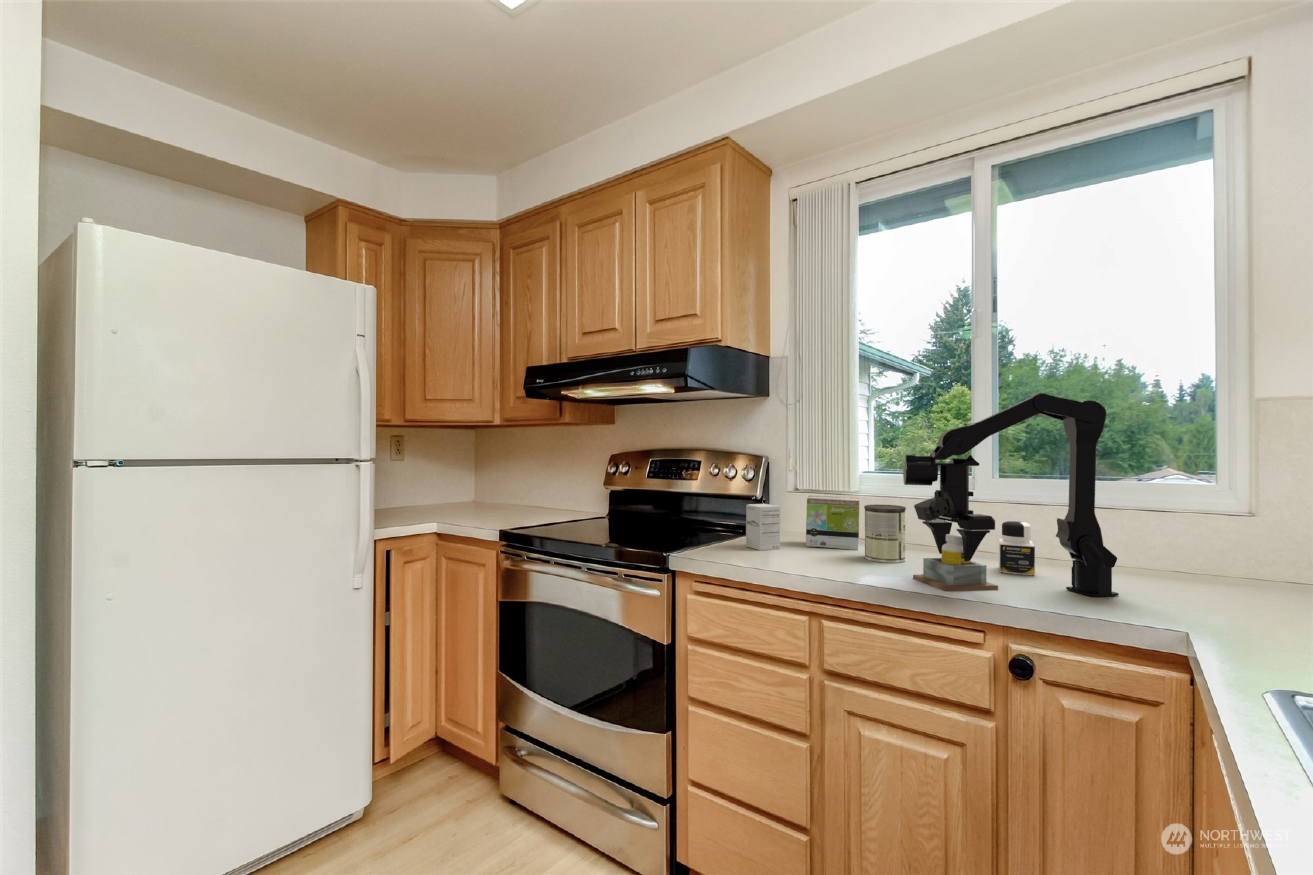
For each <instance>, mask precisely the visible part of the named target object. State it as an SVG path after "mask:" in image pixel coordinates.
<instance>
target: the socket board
mask: <svg viewBox="0 0 1313 875" xmlns="http://www.w3.org/2000/svg"><path fill="white" fill-rule="evenodd" d="M941 558H942V557H930V558H929V557H926V558H924V557H923V559H922V560H923V562H922V563H923V565H922V566H923V568H922V570H923V573H922V574H913V575H912V579H914V580H916V581H919V582H922V583H925V584H926V585H930V586H932V587H935V588H937V589H940V590H942V591H945V592H958V591H963V592H964V591H992V590H993V591H995V590H997V591H998V590H999V585H997V584H995V583H990V582H988V581H987V565H986V564H983V563H979V562H976V561H973V560H970V561H969V565H948V564H945V563H942V562H941Z"/></svg>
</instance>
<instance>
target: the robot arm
mask: <svg viewBox="0 0 1313 875" xmlns="http://www.w3.org/2000/svg"><path fill="white" fill-rule="evenodd" d="M1039 414H1041V415H1043V416H1046V417H1049V418H1052V419H1054V420H1058V421H1062V422H1063V423H1062V424H1063V428H1064V432H1065V435H1066V437H1067V440H1068V442H1069V472H1068V473H1069V475H1068V476H1069V477H1068V485H1069V486H1068V509H1067V512H1066V514H1065V516H1064V518H1060V517H1059V518H1056V525H1057V532H1056V534H1055V537H1056V538H1058V539H1059V544H1060V545H1061V546H1062V548H1063V549H1065V550H1066V551H1067V552H1068V554H1069V556H1070V558H1071V559H1072V566H1071V586H1066V587H1065V589H1066V590H1067V591H1071V592H1075V593H1078V594H1082V595H1086V596H1089V597H1116V596H1117V597H1118V596H1119V592H1115V591H1113V584H1112V582H1113V581H1112V580H1113V573H1112V572H1113V568H1114V567H1115V565H1116V563H1117V561H1118V557H1117V556H1116V555H1115V554H1114V553H1113V552H1112V551H1110V550H1109V549H1108V548H1107V547H1106V546H1104V540H1103V534H1102V530H1101V529H1102V528H1101V526H1100V524H1099V521H1098V518H1097V516H1096V511H1095V510H1096V477H1097V476H1096V474H1097V473H1096V472H1097V446H1098V442H1099V440H1100V438H1101V436H1102V435H1103V432H1104V428H1105V423H1106V419H1107V409H1106V407H1105V406H1104V405H1102V404H1101V403H1100V402H1098V401H1095V400H1083V401H1078V400H1074V399H1070V398H1064V397H1059V396H1054V395H1050V394H1049V393H1045V392H1044V393H1043V392H1040V393H1036V394H1033V395H1030V396H1029V397H1028V398H1026V399H1024V400H1022V401H1020V402H1018V403H1015V404H1013V405H1012V406H1009V407H1007V408H1005V409H1003V410H1001V411H998V412H997V413H994V414H992V415H989V416H987V417H986V418H984V419H982V420H980V421H976V422H973V423H970V424H966V425H962V426H959V427H955V428H952V429H948V430H946V431H945V430H944V432H942V433H941V434H939V437H938V443H937V444H938V445H937V446H936V447H935V449H933V451H931V453H930V454H929V455H914V454H905V456H904V463H903V464H904V467H903V469H902V473H903V475H902V477H903V479H902V481H903V485H904V486H929V487H930V486H933V483H934V482H938V479H939V489H935V492H934V493H933V494H934V495H933V497H930V498H928V499H925V500H924V501H920V502H918V503H915V504H914V505H913V508H914V510H915V512H916V516H917V519H918V520H921V522H922V524H924V525H925V526H926V527H928V529H929V530H930V531H931V534H932V536H933V538H934V541H935V544H936V548H937V551H938V553H939V555H942V546H943V545H944V544H946V543H947V541H946V534H951V530H952V525H953V523H957V526H958V527H959V528H956V529H955V530H956V531H957V532H958V534H959V535H961V536H962V542H963V554H964V560H965V561H972V559H973V557H974V555H975V554H976V551H977V550H978V547H979V546H980V544H981V543H982V541H983V540H984V539H985V536H986V535H987V534H990V533H991V531H994V530H996V519H995V518H994V517H993V516H992V515H988V514H987V515H986V514H982V513H978V514H977V513H974V510H971V509H970V497H974V491H970V467H979V466H980V462H979V461H977V460H976V459H975V458H974V457H973V455H970V454H968V455H966V457H965V458H964V457H963V458H962V457H961V458H960V457H956V458H955V457H952V456H961V455H965V454H967V453H968V452H969V451H971V450H972V449H974V448H975V447H977V446H978V445H979V444H981V443H982V442H983V441H985V440H986V439H987V438H989V437H990V436H992V435H995V434H997V433H999V432H1001V431H1004V430H1006V429H1008V428H1010V427H1012V426H1014V425H1017V424H1019V423H1021V422H1023V421H1026V420H1028V419H1031V418H1032V417H1034V416H1037V415H1039ZM950 457H951V458H950ZM949 458H950V460H949V462H936V461H945V460H947V459H949Z"/></svg>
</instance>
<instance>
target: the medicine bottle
mask: <svg viewBox="0 0 1313 875" xmlns="http://www.w3.org/2000/svg"><path fill="white" fill-rule="evenodd" d="M1031 539H1032V525H1031V524H1029V523H1028V522H1024V521H1018V520H1017V521H1016V520H1014V521H1012V520H1011V521H1010V520H1009V521H1005V522H1003V523H1002V524H1001V538H1000V539H998V569H999V572H1000V573H1001V572H1003V574H1011V573H1012V574H1013V575H1021V574H1022V576H1023V575H1024V576H1032V575H1034V576H1035V575H1036V545H1034V542H1033V541H1031ZM1012 574H1011V575H1012Z"/></svg>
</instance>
